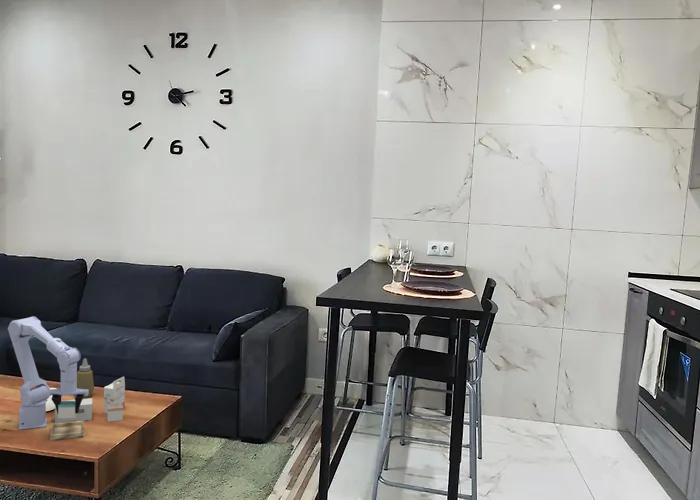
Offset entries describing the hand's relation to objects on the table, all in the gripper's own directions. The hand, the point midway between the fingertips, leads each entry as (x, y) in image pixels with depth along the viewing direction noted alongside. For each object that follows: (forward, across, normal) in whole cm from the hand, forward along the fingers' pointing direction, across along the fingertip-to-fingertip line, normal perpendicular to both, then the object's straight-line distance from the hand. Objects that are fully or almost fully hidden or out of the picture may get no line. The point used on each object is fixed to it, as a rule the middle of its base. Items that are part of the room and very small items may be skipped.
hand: (68, 412), depth 223 cm
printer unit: (+8, +2, -14) cm, 16 cm away
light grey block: (+8, -15, -13) cm, 22 cm away
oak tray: (+8, 0, 0) cm, 8 cm away
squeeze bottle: (+9, +4, -40) cm, 41 cm away
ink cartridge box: (+9, -12, -23) cm, 27 cm away
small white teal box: (+1, 0, 0) cm, 1 cm away
